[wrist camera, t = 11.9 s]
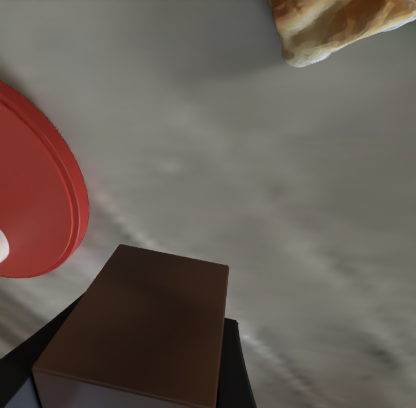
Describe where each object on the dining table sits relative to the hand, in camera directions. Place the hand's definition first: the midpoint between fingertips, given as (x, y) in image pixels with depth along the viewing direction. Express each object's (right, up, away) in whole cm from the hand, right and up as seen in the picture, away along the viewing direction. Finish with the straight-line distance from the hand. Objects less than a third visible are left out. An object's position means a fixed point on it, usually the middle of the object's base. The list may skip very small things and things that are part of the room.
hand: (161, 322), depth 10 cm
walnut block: (0, +1, +1) cm, 1 cm away
